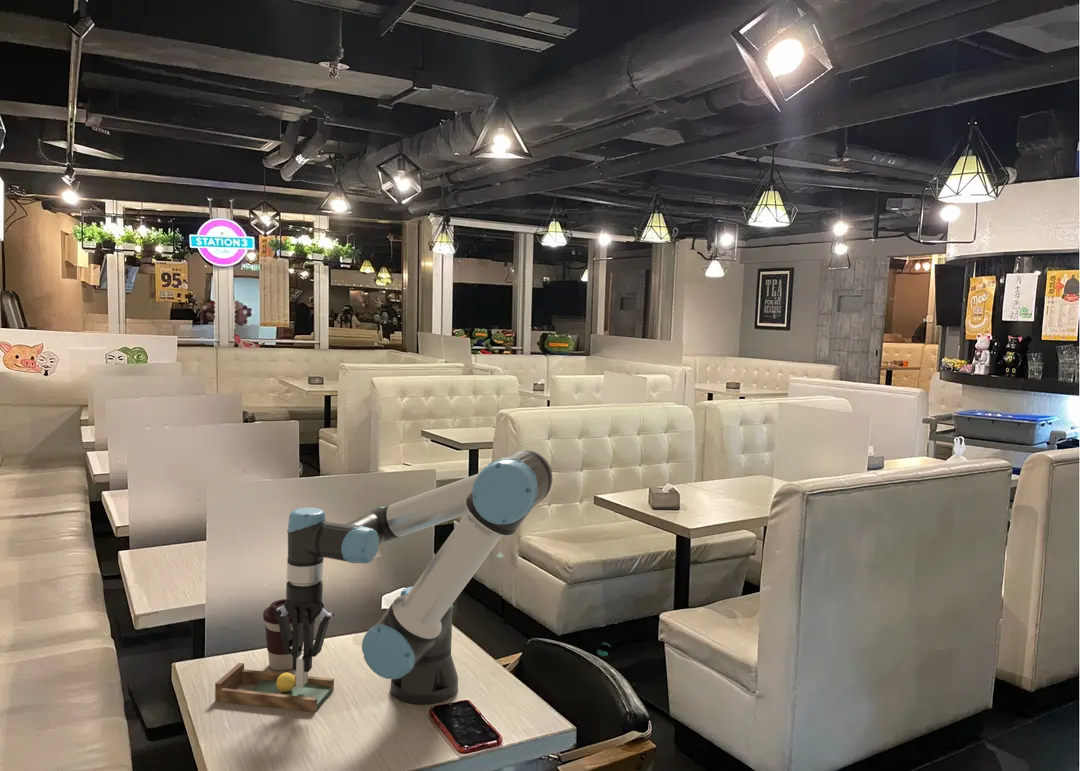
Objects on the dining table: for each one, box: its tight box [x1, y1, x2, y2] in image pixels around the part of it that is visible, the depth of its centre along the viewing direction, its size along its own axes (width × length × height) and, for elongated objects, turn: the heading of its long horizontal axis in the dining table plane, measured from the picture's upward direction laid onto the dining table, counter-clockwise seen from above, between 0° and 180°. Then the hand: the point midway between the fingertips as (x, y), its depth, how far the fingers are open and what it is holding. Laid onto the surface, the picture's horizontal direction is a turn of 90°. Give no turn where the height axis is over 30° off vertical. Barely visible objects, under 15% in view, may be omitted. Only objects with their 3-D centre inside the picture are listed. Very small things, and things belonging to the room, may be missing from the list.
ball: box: [276, 672, 295, 692], centre depth 172 cm, size 4×4×4 cm
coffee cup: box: [262, 598, 304, 672], centre depth 187 cm, size 10×10×15 cm
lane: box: [214, 662, 335, 713], centre depth 173 cm, size 23×10×4 cm, turn 82°
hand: (301, 684), depth 172 cm, fingers closed
